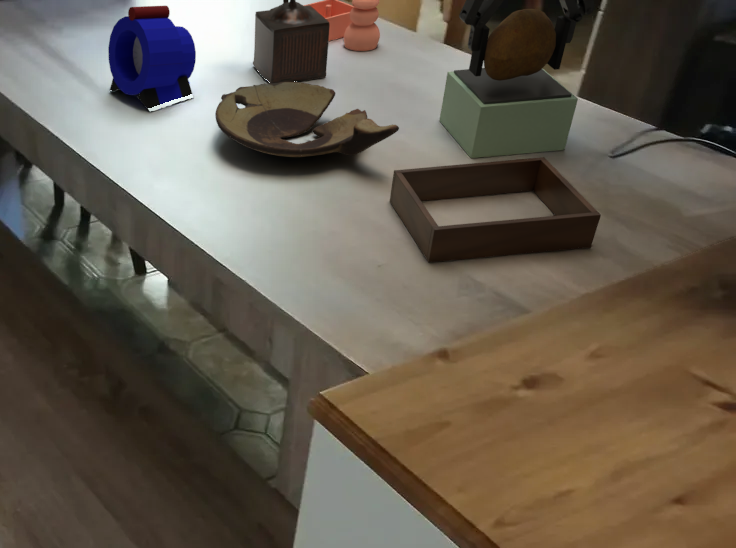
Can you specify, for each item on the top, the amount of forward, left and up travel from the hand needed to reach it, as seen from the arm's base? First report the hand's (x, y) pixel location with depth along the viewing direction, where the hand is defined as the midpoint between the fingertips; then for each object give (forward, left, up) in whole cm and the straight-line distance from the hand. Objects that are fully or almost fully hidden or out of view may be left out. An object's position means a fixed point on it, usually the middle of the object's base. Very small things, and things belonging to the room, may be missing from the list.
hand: (513, 69), depth 134 cm
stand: (0, 0, -10) cm, 10 cm away
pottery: (+48, +12, -10) cm, 51 cm away
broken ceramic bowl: (+1, +31, -10) cm, 33 cm away
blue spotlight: (+28, +50, -10) cm, 58 cm away
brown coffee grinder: (+33, +28, -10) cm, 44 cm away
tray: (-26, +12, -10) cm, 30 cm away
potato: (0, +1, -1) cm, 1 cm away
